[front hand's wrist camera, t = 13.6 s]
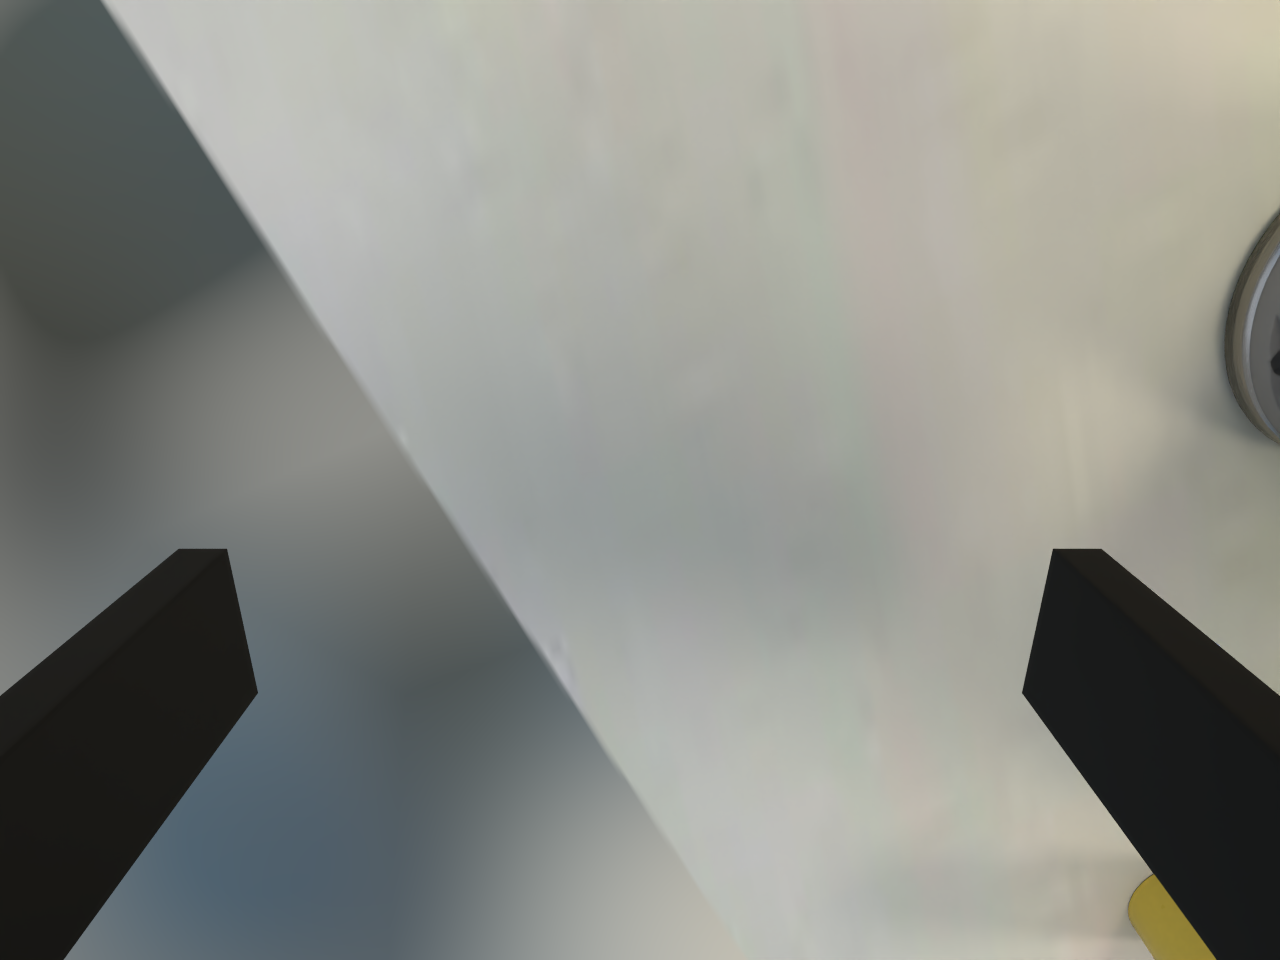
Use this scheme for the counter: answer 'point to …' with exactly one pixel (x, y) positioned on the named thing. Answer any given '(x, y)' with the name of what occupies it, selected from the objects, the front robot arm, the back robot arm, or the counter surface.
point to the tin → (1164, 925)
